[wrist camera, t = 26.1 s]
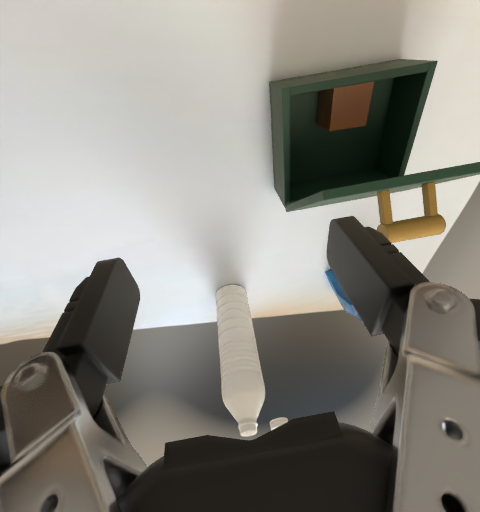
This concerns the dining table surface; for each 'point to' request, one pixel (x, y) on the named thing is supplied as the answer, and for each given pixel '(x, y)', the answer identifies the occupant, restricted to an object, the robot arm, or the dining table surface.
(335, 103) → the block
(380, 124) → the green storage bin
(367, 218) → the dining table surface
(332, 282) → the perfume bottle
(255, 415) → the water bottle
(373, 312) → the robot arm
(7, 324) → the dining table surface
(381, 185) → the cover
